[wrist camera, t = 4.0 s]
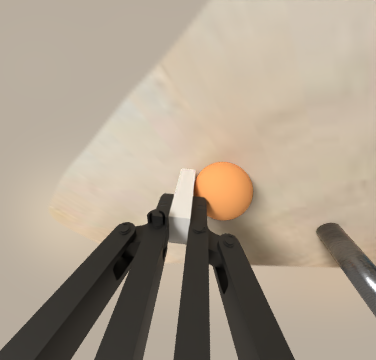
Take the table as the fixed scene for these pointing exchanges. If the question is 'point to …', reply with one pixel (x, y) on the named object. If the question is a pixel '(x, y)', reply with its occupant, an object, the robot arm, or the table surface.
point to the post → (351, 261)
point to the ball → (224, 190)
